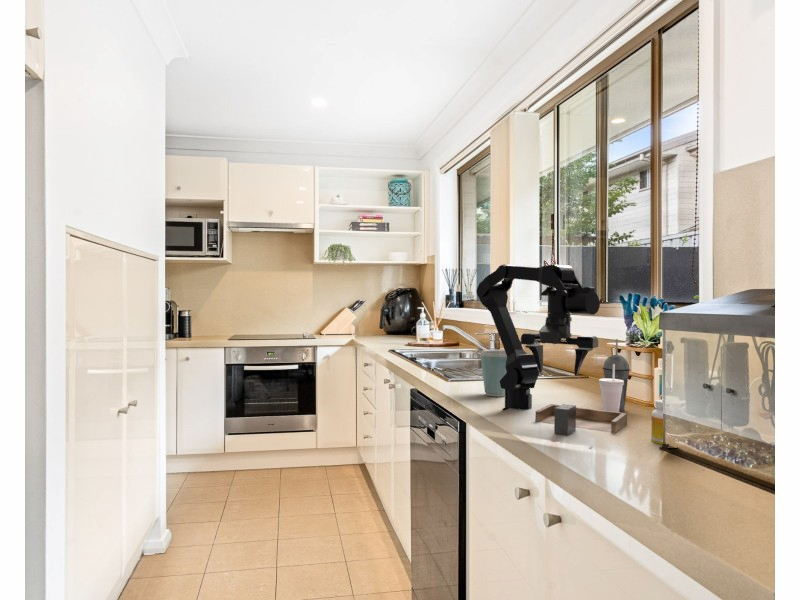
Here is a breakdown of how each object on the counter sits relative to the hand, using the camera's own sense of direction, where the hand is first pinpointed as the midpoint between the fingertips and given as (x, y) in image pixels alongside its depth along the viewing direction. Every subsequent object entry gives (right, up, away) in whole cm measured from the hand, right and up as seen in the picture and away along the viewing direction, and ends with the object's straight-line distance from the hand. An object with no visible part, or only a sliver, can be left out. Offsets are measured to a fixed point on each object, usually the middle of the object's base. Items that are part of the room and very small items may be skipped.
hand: (558, 373), depth 143 cm
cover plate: (-3, -12, -17) cm, 21 cm away
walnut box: (+3, -12, -7) cm, 14 cm away
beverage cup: (+21, -12, +15) cm, 28 cm away
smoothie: (+16, -12, +6) cm, 21 cm away
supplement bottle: (+16, -13, -24) cm, 32 cm away
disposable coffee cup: (-10, -12, +36) cm, 39 cm away
